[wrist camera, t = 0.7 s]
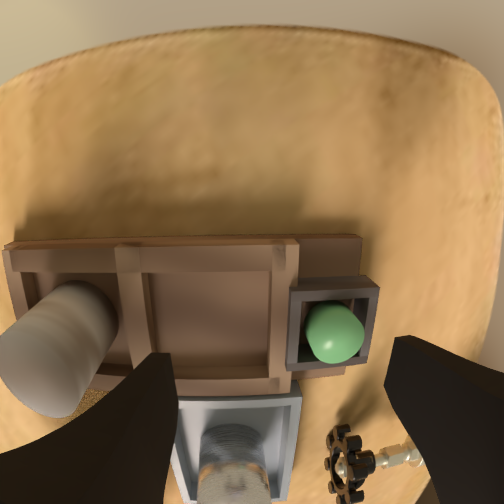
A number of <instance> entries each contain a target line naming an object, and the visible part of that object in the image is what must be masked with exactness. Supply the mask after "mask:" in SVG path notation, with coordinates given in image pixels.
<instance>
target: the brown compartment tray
mask: <svg viewBox="0 0 504 504" xmlns="http://www.w3.org/2000/svg"><path fill="white" fill-rule="evenodd" d="M4 248H5V249H4V250H2V256H3V262H4V267H5V273H6V278H7V283H8V287H9V292H10V296H11V300H12V304H13V308H14V312H15V316H16V319H17V321H16V322H15V323H14V324H13V325H12V326H11V327H9V328H8V329H7V330H6V331H5V332H4V333H3V334H2V335H1V336H0V376H1V378H2V380H3V382H4V383H5V385H6V386H7V388H8V389H9V390H10V391H11V392H12V394H13V395H14V396H15V397H16V398H17V399H18V400H19V401H21V402H22V403H23V404H24V405H26V406H27V407H28V408H30V409H32V410H33V411H35V412H37V413H39V414H42V415H44V416H48V417H53V418H64V417H67V416H69V415H71V414H72V413H73V412H74V411H75V410H76V408H77V406H78V405H79V403H80V401H81V399H82V397H83V395H84V393H85V392H86V390H87V389H94V390H103V391H111V390H113V389H114V388H115V387H116V386H117V385H118V384H119V383H120V382H121V381H122V380H123V379H124V378H125V377H126V376H128V375H129V374H130V373H131V372H132V371H133V370H134V369H135V368H136V367H137V366H138V365H139V364H140V363H141V362H142V361H143V360H144V359H145V358H146V357H147V356H148V355H149V354H150V353H151V352H155V353H170V354H171V360H172V366H173V373H174V378H175V384H176V390H177V395H178V396H248V395H268V394H283V393H290V385H291V380H297V379H309V378H319V377H328V376H336V375H344V373H345V368H346V366H349V365H357V364H364V363H367V359H368V354H369V349H370V344H371V339H372V333H373V328H374V322H375V316H376V310H377V303H378V297H379V290H380V287H379V286H378V285H377V284H375V283H374V282H373V281H372V280H371V279H369V278H368V277H367V276H366V275H360V276H359V269H360V259H361V248H362V238H361V237H359V236H357V235H356V234H289V235H211V236H162V237H124V238H92V239H64V240H39V241H16V242H11V243H9V244H7V245H4ZM327 300H337V301H340V302H342V303H344V304H345V305H346V306H347V307H348V308H349V309H350V310H351V311H352V313H353V314H354V315H355V316H356V318H357V319H358V320H359V321H360V323H361V324H362V326H363V328H364V334H365V335H364V341H363V344H362V346H361V347H360V349H359V350H358V352H357V353H356V354H355V355H353V356H352V357H351V358H349V359H348V360H346V361H343V362H340V363H334V364H331V363H325V362H322V361H320V360H319V359H318V358H317V357H316V356H315V355H314V353H313V350H312V348H311V346H310V344H309V342H308V339H307V337H306V335H305V333H304V328H303V325H304V320H305V317H306V315H307V314H308V312H309V311H310V310H311V309H312V308H313V307H314V306H315V305H317V304H318V303H320V302H323V301H327Z"/></svg>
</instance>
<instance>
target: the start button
mask: <svg viewBox="0 0 504 504" xmlns="http://www.w3.org/2000/svg"><path fill="white" fill-rule="evenodd" d="M303 328H304V333H305V335H306V337H307V339H308V342H309V344H310V346H311V348H312V350H313V353H314V355H315V356H316V357H317V358H318V359H319V360H320V361H322V362H325V363H331V364H334V363H340V362H343V361H346V360H348V359H349V358H351V357H352V356H353V355H355V354H356V353H357V352H358V350H359V349H360V347H361V346H362V344H363V341H364V335H365V334H364V328H363V326H362V324H361V323H360V321H359V320H358V319H357V318H356V316H355V315H354V314H353V313H352V311H351V310H350V309H349V308H348V307H347V306H346V305H345V304H344V303H342V302H340V301H337V300H327V301H323V302H320V303H318V304H317V305H315V306H314V307H313V308H312V309H311V310H310V311H309V312H308V314H307V315H306V317H305V320H304V325H303Z"/></svg>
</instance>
